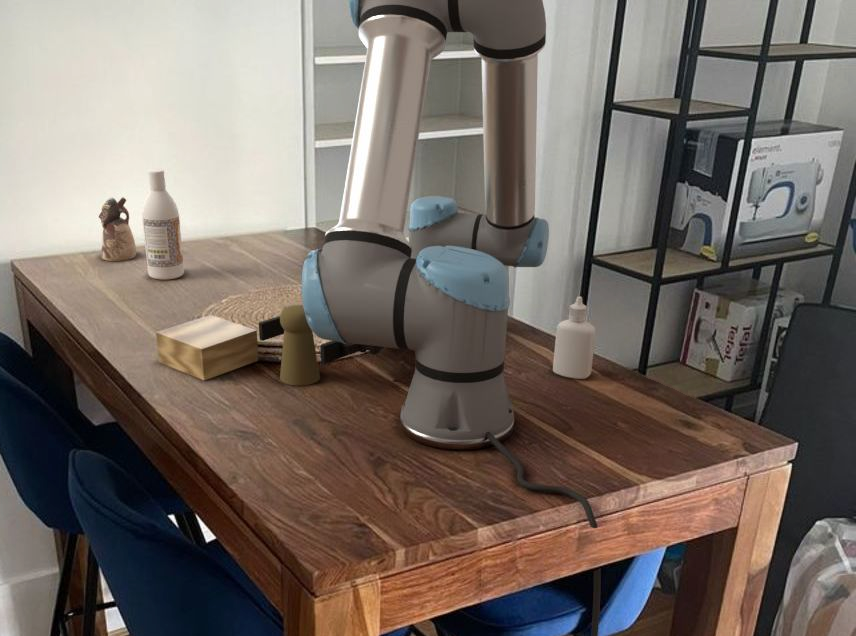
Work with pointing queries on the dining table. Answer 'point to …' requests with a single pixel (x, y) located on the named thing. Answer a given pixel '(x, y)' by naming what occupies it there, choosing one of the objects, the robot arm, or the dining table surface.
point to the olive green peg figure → (298, 348)
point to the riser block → (207, 347)
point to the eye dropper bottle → (574, 344)
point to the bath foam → (162, 230)
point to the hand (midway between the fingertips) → (290, 342)
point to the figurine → (116, 232)
